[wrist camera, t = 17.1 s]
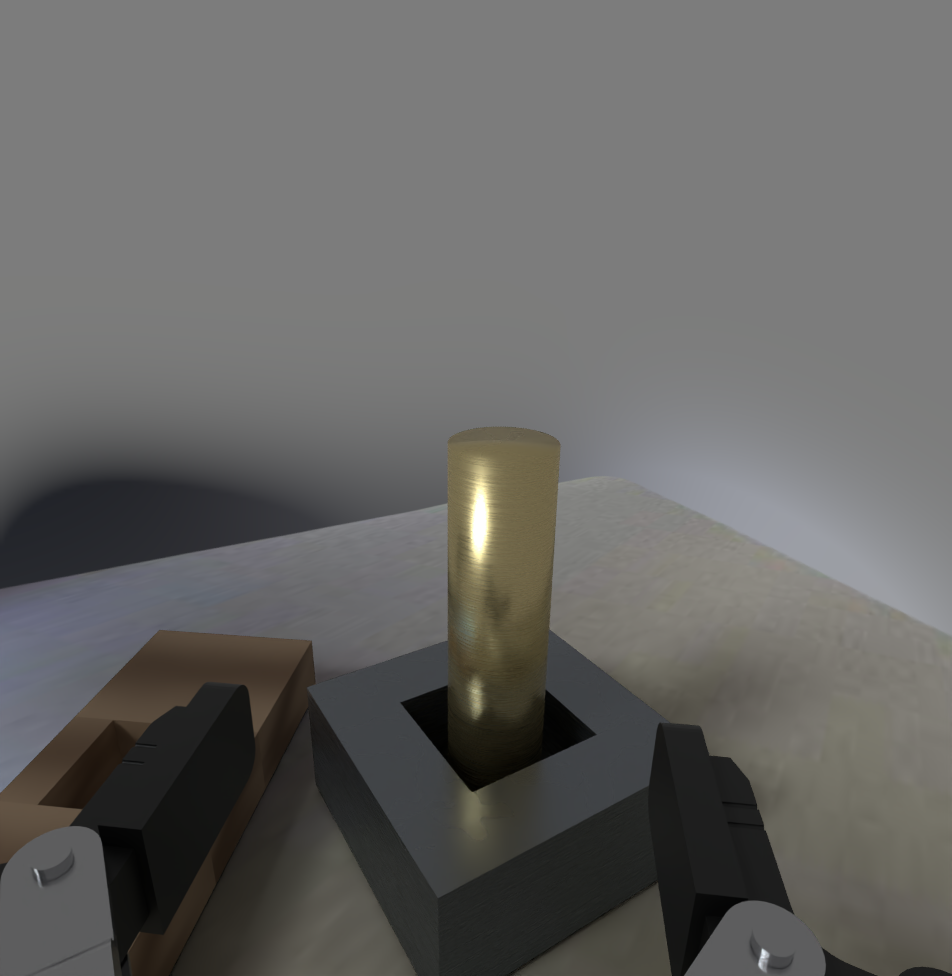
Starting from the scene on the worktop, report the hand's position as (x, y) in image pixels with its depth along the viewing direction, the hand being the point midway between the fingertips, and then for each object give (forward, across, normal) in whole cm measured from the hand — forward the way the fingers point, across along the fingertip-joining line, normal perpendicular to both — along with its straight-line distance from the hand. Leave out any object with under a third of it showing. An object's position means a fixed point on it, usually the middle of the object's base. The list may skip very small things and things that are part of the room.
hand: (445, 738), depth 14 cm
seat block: (+11, 0, +13) cm, 17 cm away
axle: (+11, 0, +13) cm, 17 cm away
